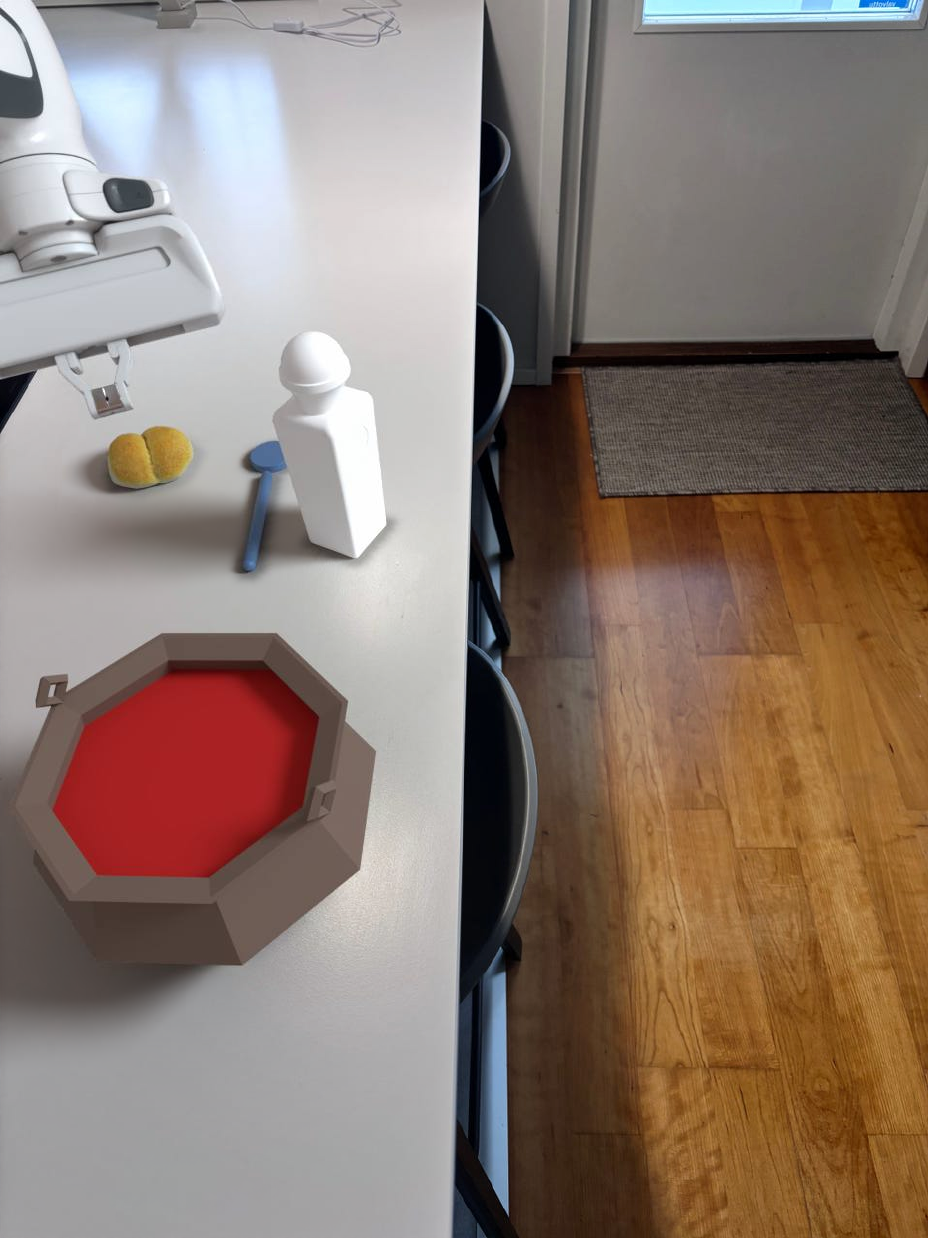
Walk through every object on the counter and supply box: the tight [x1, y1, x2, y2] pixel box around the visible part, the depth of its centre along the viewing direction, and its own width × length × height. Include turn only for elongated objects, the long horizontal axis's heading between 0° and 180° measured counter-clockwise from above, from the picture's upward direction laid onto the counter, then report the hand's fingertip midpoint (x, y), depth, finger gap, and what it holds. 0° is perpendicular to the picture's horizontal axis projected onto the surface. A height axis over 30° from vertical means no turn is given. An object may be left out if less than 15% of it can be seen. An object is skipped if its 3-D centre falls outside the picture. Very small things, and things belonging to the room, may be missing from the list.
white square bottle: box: [272, 330, 387, 559], centre depth 85 cm, size 6×6×22 cm
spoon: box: [242, 440, 287, 572], centre depth 97 cm, size 19×4×1 cm, turn 1°
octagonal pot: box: [7, 632, 377, 967], centre depth 65 cm, size 24×24×16 cm
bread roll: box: [106, 425, 195, 489], centre depth 101 cm, size 8×9×4 cm
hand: (113, 413), depth 69 cm, fingers closed
